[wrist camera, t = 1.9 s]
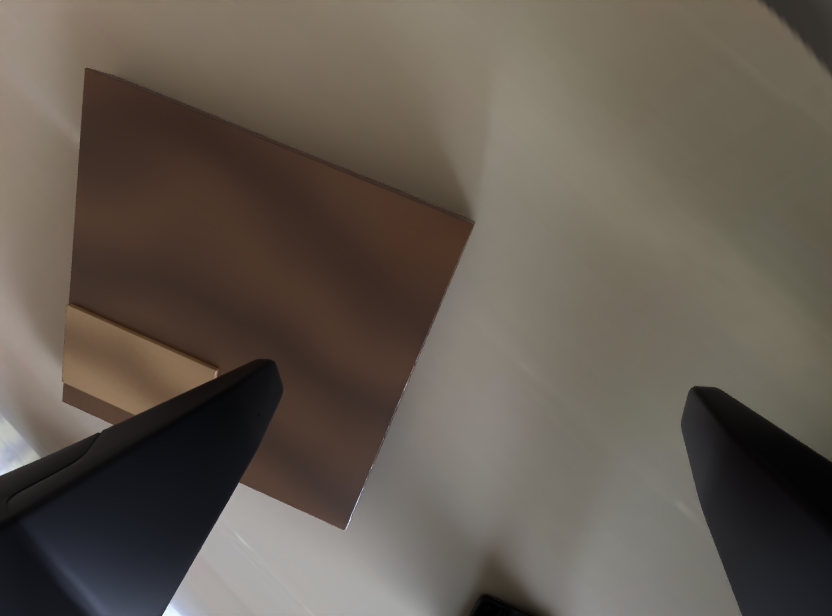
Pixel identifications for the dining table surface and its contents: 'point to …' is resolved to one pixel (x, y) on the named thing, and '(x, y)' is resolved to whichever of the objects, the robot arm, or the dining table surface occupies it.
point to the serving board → (248, 285)
